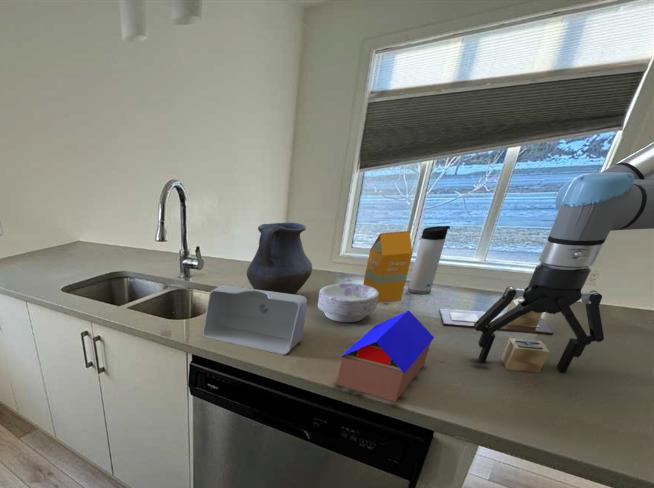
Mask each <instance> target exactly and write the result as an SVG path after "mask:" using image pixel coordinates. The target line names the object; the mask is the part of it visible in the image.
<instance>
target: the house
mask: <svg viewBox="0 0 654 488" xmlns="http://www.w3.org/2000/svg"><path fill="white" fill-rule="evenodd" d="M434 339H435V336H434V335H433V334H432V333H431V332H430V331H429V330H428V329H427V328H426V327H425V326H424V324H422V323H421V322H420V320H419V319H418V318H417V317H416V316H415V315H414V314H413V313H412V312H411V311H410V310H406V311H404V312H402V313H400V314H397V315H396V316H394V317H391V318H389V319H387V320H385V321H383V322H380V323H378V324H375V325H374V326H373V327H372V328H371V329H370V330H368V331H367V332H366V333H365V334H364V335H363V336H362V337H361V338H360V339H359V340H357V341H356V342H355V343H354V344H353V345H352V346H350V347H349V348H348V349H347V350H346V351H344V352H343V353H342V355H340V356H339V357H340V358H341V360H340V366H339V370H338V376H337V382H336V385H337V386H341V387H344V388H347V389H350V390H354V391H357V392H361V393H364V394H368V395H372V396H374V397H377V398H381V399H384V400H387V401H391V402H396V401H397V400H398V399H399V398H400V397H401V395H402V394H403V392H404V391H405V390H406V389H407V387H408V386H409V385H410V384H411V382H412V381H413V380H414V378H415V377H416V376H417V375H418V373H419V372H420V370H421V369H422V368H423V367H424V366H425V363H426V359H427V356H428V353H429V349H430V346H431V343H432V342H433V341H434Z"/></svg>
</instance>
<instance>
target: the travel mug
mask: <svg viewBox="0 0 654 488" xmlns="http://www.w3.org/2000/svg"><path fill="white" fill-rule="evenodd" d="M450 229H451V226H450V225H439V226H430V227H425V228H424V229H423V230H422V233H421V234H422V235H421V237H420V240H419V244H418V249H417V252H416V256H415V260H414V263H413V268H412V272H411V275H410V279H409V283H408V287H407V292H409V293H410V294H416V295H428V294H430V293H431V291H432V287H433V285H434V281H435V277H436V274H437V271H438V267H439V264H440V260H441V257H442V254H443V253H442V252H443V250H444V246H445V242H446V238H447V234H448V230H450Z"/></svg>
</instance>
